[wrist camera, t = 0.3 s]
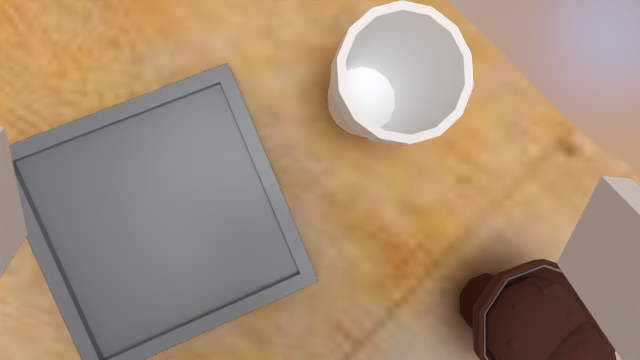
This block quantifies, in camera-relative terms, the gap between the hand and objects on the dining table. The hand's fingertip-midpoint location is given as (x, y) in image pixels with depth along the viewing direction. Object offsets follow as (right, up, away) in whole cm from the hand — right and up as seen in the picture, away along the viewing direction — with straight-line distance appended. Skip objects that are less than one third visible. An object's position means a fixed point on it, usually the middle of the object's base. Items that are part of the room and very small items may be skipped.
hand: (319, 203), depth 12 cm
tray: (-13, -3, +33) cm, 35 cm away
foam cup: (+4, +8, +35) cm, 36 cm away
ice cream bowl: (+16, -11, +37) cm, 42 cm away
